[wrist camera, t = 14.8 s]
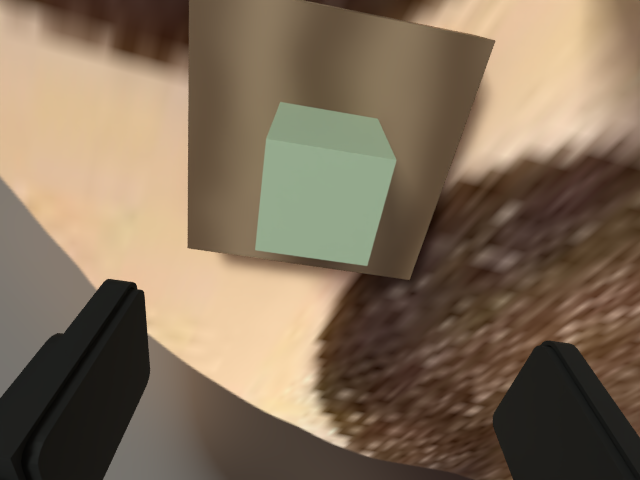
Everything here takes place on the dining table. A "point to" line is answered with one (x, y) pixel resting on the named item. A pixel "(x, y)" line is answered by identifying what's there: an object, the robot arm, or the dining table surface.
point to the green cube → (323, 184)
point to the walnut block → (329, 94)
